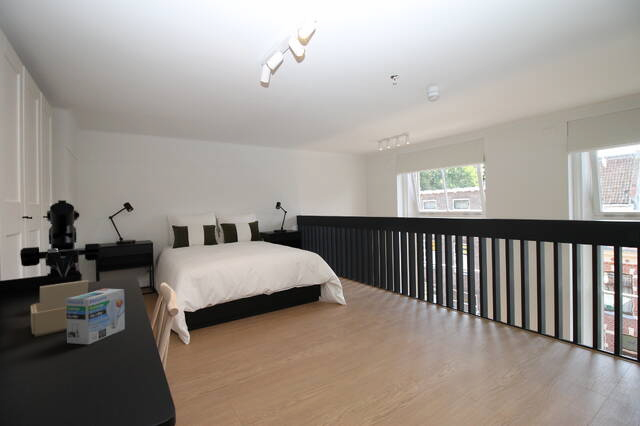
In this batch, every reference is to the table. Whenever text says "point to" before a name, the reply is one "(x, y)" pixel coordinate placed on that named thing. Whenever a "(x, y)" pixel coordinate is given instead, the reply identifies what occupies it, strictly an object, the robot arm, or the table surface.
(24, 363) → the table surface
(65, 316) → the carton
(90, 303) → the light bulb box
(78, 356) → the table surface
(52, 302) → the far flap
